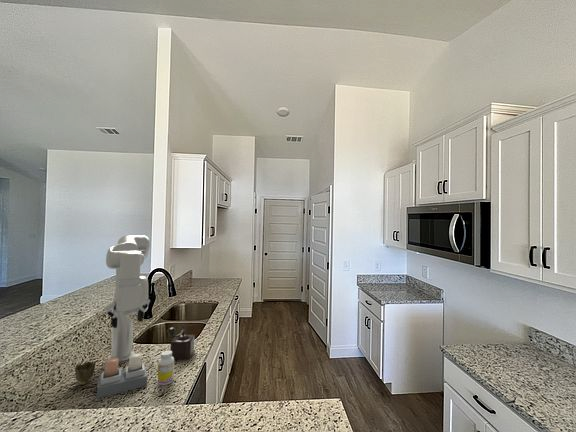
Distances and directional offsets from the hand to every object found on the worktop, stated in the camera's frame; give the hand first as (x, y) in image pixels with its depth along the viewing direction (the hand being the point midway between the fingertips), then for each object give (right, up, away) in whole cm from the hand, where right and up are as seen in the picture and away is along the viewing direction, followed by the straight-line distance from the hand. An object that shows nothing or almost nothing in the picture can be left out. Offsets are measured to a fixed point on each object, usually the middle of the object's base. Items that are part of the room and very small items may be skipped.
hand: (127, 324), depth 111 cm
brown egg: (-10, -23, +6) cm, 26 cm away
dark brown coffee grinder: (+9, -32, +33) cm, 47 cm away
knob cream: (-3, -24, +10) cm, 26 cm away
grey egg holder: (-7, -30, +7) cm, 32 cm away
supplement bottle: (+11, -31, +10) cm, 34 cm away
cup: (-24, -30, +8) cm, 40 cm away
